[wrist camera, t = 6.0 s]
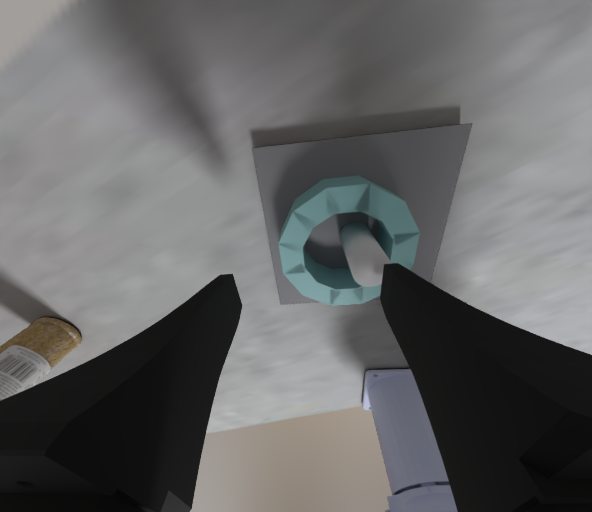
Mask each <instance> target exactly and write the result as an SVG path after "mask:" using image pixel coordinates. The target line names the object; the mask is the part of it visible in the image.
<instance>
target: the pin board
mask: <svg viewBox="0 0 592 512" xmlns="http://www.w3.org/2000/svg"><path fill="white" fill-rule="evenodd" d="M471 126H472V123H470V124H457V125H449V126H440V127H431V128H422V129H414V130H405V131H396V132H387V133H379V134H370V135H361V136H352V137H343V138H335V139H326V140H317V141H308V142H300V143H291V144H282V145H273V146H265V147H256V148H252V150H253V156H254V161H255V167H256V172H257V178H258V183H259V189H260V194H261V200H262V205H263V211H264V216H265V222H266V227H267V233H268V238H269V244H270V249H271V255H272V260H273V266H274V271H275V277H276V282H277V288H278V293H279V299H280V304H300V303H319V301H317V300H314V299H311V298H308V297H306V296H303V295H302V294H301V293H300V292H299V291H298V290H297V289H296V287H295V286H294V285H293V284H292V283H291V282H290V281H289V280H288V279H287V277H286V276H285V275H284V274H283V269H282V263H281V257H280V251H279V245H278V243H279V239H280V234H281V230H282V227H283V225H284V223H285V220H286V218H287V216H288V214H289V211H290V209H291V207H292V205H293V202H294V200H295V199H296V198H297V197H299V196H300V195H302V194H303V193H304V192H306V191H307V190H309V189H310V188H311V187H313V186H314V185H315V184H317V183H318V182H320V181H321V180H322V179H329V178H338V177H348V176H357V175H359V176H361V177H363V178H365V179H367V180H369V181H371V182H373V183H375V184H377V185H379V186H381V187H383V188H385V189H387V190H389V191H391V192H392V193H394V194H395V195H397V196H398V197H400V198H401V199H403V200H404V201H405V202H406V204H407V206H408V208H409V211H410V213H411V215H412V217H413V219H414V221H415V223H416V225H417V227H418V229H419V231H420V235H419V240H418V245H417V250H416V255H415V260H414V265H413V266H412V267H411V269H410V271H412V272H414V273H415V274H417V275H418V276H420V277H421V278H423V279H425V280H426V281H428V282H431V278H432V274H433V271H434V267H435V263H436V259H437V255H438V252H439V248H440V244H441V240H442V236H443V233H444V229H445V225H446V221H447V217H448V214H449V210H450V206H451V202H452V199H453V195H454V191H455V187H456V183H457V180H458V176H459V172H460V168H461V164H462V161H463V157H464V153H465V149H466V145H467V142H468V138H469V134H470V130H471ZM379 228H380V224H379V222H378V220H377V219H376V218H374V217H372V216H370V215H367V214H365V213H363V212H361V211H360V212H349V213H338V214H334V215H332V216H330V217H329V218H327V219H326V220H324V221H323V222H321V223H320V224H318V225H317V226H315V227H313V229H312V231H311V233H310V235H309V237H308V238H307V240H306V242H305V244H304V247H305V250H306V251H307V252H308V254H309V255H310V256H311V257H312V259H313V260H314V261H315V262H316V263H319V264H321V265H324V266H326V267H329V268H331V269H335V268H350V270H351V273H352V276H353V279H354V280H355V281H356V282H357V283H358V284H359V285H362V286H365V287H373V286H377V285H380V284H382V277H383V268H384V264H392V263H391V261H390V260H389V259H388V257H387V256H386V254H385V253H384V251H383V250H382V248H381V247H380V245H379V244H378V238H379ZM375 299H380V296H378V297H376V298H374V299H372V300H375Z"/></svg>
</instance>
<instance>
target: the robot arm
mask: <svg viewBox="0 0 592 512" xmlns="http://www.w3.org/2000/svg"><path fill="white" fill-rule="evenodd" d="M380 300H381V303H382V307H383V310H384V313H385V316H386V318H387V320H388V323H389V325H390V327H391V329H392V331H393V333H394V335H395V337H396V339H397V341H398V343H399V345H400V348H401V350H402V352H403V354H404V356H405V358H406V360H407V362H408V364H409V367H410V369H391V370H368V371H366V373H365V383H364V393H363V402H362V407H363V409H364V410H372V414H373V419H374V422H375V427H376V431H377V435H378V439H379V443H380V447H381V451H382V455H383V459H384V464H385V468H386V472H387V476H388V480H389V484H390V488H391V492H392V496H388V497H387V499H388V503H389V508H390V510H389V509H388V510H386V511H385V512H592V355H590V354H587V353H584V352H581V351H579V350H576V349H573V348H570V347H567V346H564V345H562V344H559V343H556V342H554V341H551V340H548V339H546V338H543V337H540V336H538V335H536V334H533V333H531V332H528V331H526V330H523V329H521V328H518V327H516V326H513V325H511V324H509V323H507V322H504V321H502V320H500V319H497V318H495V317H493V316H491V315H489V314H487V313H485V312H483V311H480V310H478V309H476V308H474V307H472V306H470V305H468V304H466V303H465V302H463V301H461V300H459V299H457V298H455V297H454V296H452V295H450V294H448V293H446V292H445V291H443V290H441V289H439V288H438V287H436V286H434V285H433V284H431V283H430V282H428V281H426V280H425V279H423V278H421V277H420V276H418V275H417V274H415V273H414V272H412V271H410V270H409V269H407V268H405V267H404V266H402V265H400V264H398V263H392V264H384V268H383V277H382V285H381V293H380ZM241 309H242V303H241V300H240V297H239V293H238V290H237V287H236V283H235V280H234V277H233V274H225V275H220V276H218V277H217V278H215V279H214V280H213V281H211V282H210V283H209V284H208V285H206V286H205V287H204V288H203V289H201V290H200V291H199V292H197V293H196V294H195V295H194V296H192V297H191V298H190V299H189V300H187V301H186V302H185V303H183V304H182V305H181V306H179V307H178V308H176V309H175V310H174V311H172V312H171V313H170V314H168V315H167V316H165V317H164V318H163V319H161V320H160V321H158V322H157V323H155V324H154V325H152V326H150V327H149V328H147V329H146V330H144V331H142V332H141V333H139V334H137V335H136V336H134V337H132V338H130V339H129V340H127V341H125V342H123V343H122V344H120V345H118V346H116V347H114V348H113V349H111V350H109V351H107V352H105V353H103V354H102V355H100V356H98V357H96V358H94V359H92V360H90V361H88V362H86V363H84V364H82V365H79V366H77V367H75V368H73V369H71V370H69V371H67V372H65V373H63V374H60V375H58V376H56V377H54V378H52V379H49V380H47V381H45V382H42V383H40V384H38V385H35V386H33V387H31V388H29V389H26V390H24V391H22V392H19V393H17V394H15V395H12V396H10V397H7V398H5V399H3V400H1V401H0V512H190V510H191V509H192V503H193V497H194V491H195V486H196V480H197V475H198V469H199V464H200V459H201V453H202V449H203V444H204V439H205V435H206V430H207V425H208V421H209V417H210V412H211V408H212V404H213V400H214V396H215V392H216V388H217V384H218V381H219V377H220V374H221V371H222V368H223V365H224V362H225V360H226V357H227V354H228V351H229V349H230V346H231V343H232V340H233V338H234V335H235V332H236V329H237V326H238V323H239V319H240V314H241Z"/></svg>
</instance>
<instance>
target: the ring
mask: <svg viewBox="0 0 592 512" xmlns="http://www.w3.org/2000/svg"><path fill="white" fill-rule="evenodd" d="M360 211H361V212H363V213H365V214H367V215H370V216H372V217H374V218H376V219H377V220H378V222H379V224H380V228H379V238H378V244H379V245H380V247H381V248H382V250H383V251H384V253H385V254H386V256H387V257H388V259H389V260H390V261H391V263H398V264H400V265H402V266H404V267H405V268H407V269H409V270H410V269H411V267H412V266H413V265H414V260H415V255H416V250H417V245H418V240H419V235H420V231H419V229H418V227H417V225H416V223H415V221H414V219H413V217H412V215H411V213H410V211H409V208H408V206H407V204H406V202H405V201H404V200H403V199H401V198H400V197H398V196H397V195H395V194H394V193H392V192H391V191H389V190H387V189H385V188H383V187H381V186H379V185H377V184H375V183H373V182H371V181H369V180H367V179H365V178H363V177H361V176H359V175H357V176H348V177H338V178H329V179H322V180H321V181H320V182H318V183H317V184H315V185H314V186H313V187H311V188H310V189H309V190H307V191H306V192H304V193H303V194H302V195H300V196H299V197H297V198H296V199H295V200H294V202H293V205H292V207H291V209H290V211H289V214H288V216H287V218H286V220H285V223H284V225H283V227H282V230H281V234H280V239H279V243H278V245H279V251H280V257H281V263H282V269H283V274H284V275H285V276H286V277H287V279H288V280H289V281H290V282H291V283H292V284H293V285H294V286H295V287H296V289H297V290H298V291H299V292H300V293H301V294H302V295H303V296H306V297H308V298H311V299H314V300H317V301H319V302H322V303H325V304H327V305H330V306H335V305H353V304H363V303H365V302H367V301H370V300H372V299H374V298H376V297H378V296H380V293H381V285H382V284H380V285H377V286H373V287H365V286H362V285H359V284H358V283H357V282H356V281H355V280H354V279H353V276H352V273H351V270H350V268H335V269H331V268H329V267H326V266H324V265H321V264H319V263H316V262H315V261H314V260H313V259H312V257H311V256H310V255H309V254H308V252H307V251H306V250H305V247H304V244H305V242H306V240H307V238H308V237H309V235H310V233H311V231H312V229H313V227H315V226H317V225H318V224H320V223H321V222H323V221H324V220H326V219H327V218H329V217H330V216H332V215H334V214H338V213H349V212H360Z"/></svg>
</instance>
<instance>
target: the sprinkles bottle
mask: <svg viewBox="0 0 592 512" xmlns="http://www.w3.org/2000/svg"><path fill="white" fill-rule="evenodd" d="M80 343H81V336H80V334H79V332H78V331H77V330H76V329H75V328H74V327H73V326H71V325H69V324H68V323H66V322H64V321H61V320H59V319H55V318H47V317H44V318H39V319H37V320H35V321H34V322H33V323H31V325H30V326H29V327H27V328H26V329H24V330H23V331H21V332H20V333H19V334H17V335H16V336H14V337H13V338H12V339H10V340H9V341H7V342H6V343H4V344H3V345H1V346H0V401H1V400H3V399H5V398H7V397H10V396H12V395H15V394H17V393H19V392H22V391H24V390H26V389H29V388H31V387H33V386H35V385H36V384H37V383H38V382H39V381H40V380H41V379H42V378H43V377H44V376H45V375H46V374H48V373H49V371H50V370H51V369H52V368H53V367H54V366H55V365H56V364H57V363H58V362H59V361H61V360H62V358H64V357H65V356H66V355H67V354H68V353H69V352H70V351H71V350H72V349H74V348H76V347H77V346H78V345H79V344H80Z"/></svg>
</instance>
